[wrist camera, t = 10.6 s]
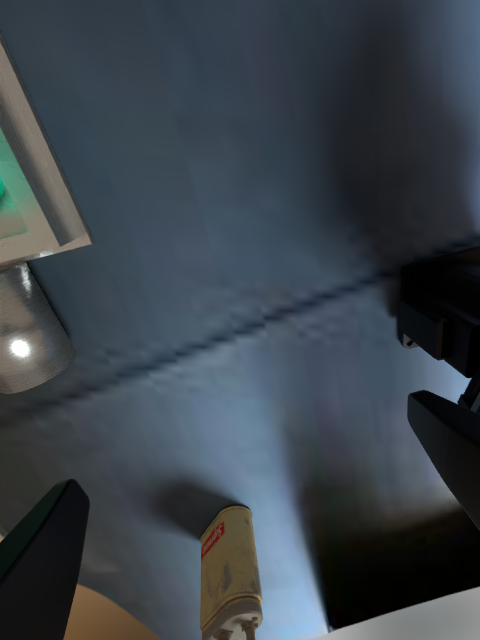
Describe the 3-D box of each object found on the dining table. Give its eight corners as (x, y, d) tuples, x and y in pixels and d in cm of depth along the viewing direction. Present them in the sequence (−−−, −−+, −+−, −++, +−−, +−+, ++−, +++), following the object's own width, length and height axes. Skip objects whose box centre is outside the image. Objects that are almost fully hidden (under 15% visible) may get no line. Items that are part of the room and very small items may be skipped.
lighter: (227, 500, 29) (236, 646, 20) (260, 509, 30) (283, 650, 21) (195, 542, 32) (190, 689, 23) (227, 549, 33) (235, 691, 24)
